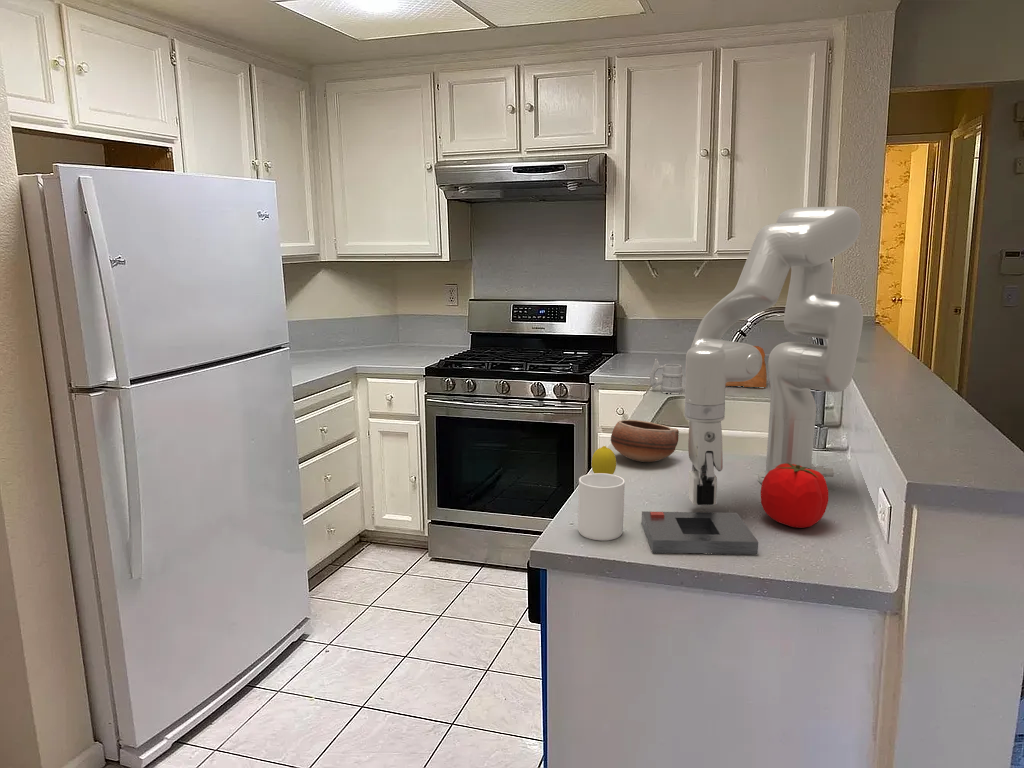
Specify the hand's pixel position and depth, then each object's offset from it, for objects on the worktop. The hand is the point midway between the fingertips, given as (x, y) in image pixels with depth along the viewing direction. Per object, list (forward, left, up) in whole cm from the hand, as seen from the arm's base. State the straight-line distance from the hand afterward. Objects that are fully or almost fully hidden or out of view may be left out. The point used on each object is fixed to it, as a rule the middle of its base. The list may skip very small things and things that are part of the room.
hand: (702, 498), depth 149 cm
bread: (-40, -138, -3) cm, 144 cm away
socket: (+4, +14, -3) cm, 15 cm away
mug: (-13, -121, -3) cm, 122 cm away
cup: (+21, +10, -3) cm, 23 cm away
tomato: (-16, +5, -3) cm, 17 cm away
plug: (0, 0, 0) cm, 0 cm away
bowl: (+7, -35, -3) cm, 36 cm away
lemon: (+18, -19, -3) cm, 26 cm away
